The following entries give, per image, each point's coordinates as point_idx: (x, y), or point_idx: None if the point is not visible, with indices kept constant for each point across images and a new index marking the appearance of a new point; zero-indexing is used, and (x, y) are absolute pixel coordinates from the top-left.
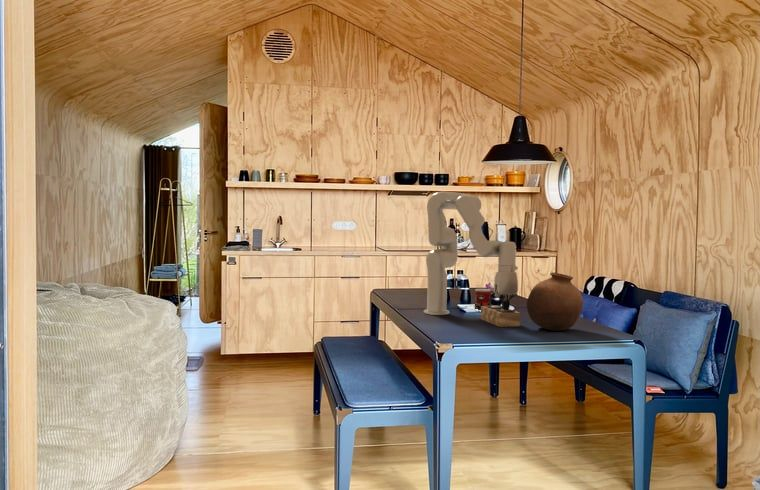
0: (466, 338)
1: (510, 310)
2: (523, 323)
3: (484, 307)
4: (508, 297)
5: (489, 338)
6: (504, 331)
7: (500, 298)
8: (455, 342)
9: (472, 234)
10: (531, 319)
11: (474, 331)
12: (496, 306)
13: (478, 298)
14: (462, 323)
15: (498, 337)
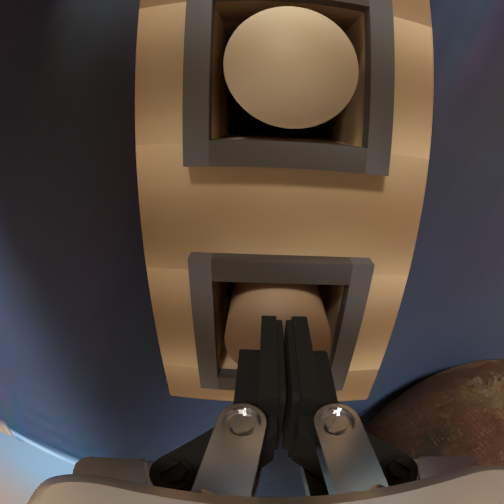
0: (28, 416)
1: (335, 345)
2: (430, 258)
3: (145, 27)
4: (308, 490)
5: (88, 444)
6: (172, 408)
7: (191, 447)
8: (11, 425)
9: None
10: (365, 429)
11: (43, 364)
12: (313, 65)
13: None
14: (5, 173)
15: (119, 449)
